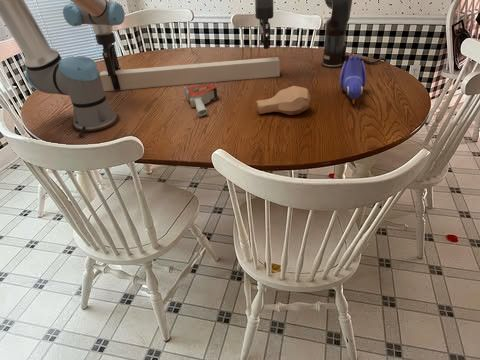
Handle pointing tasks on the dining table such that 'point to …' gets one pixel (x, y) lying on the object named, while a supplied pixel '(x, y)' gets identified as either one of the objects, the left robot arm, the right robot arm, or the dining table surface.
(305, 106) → the squash
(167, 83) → the post
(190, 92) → the tape dispenser
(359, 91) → the toy
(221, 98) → the dining table surface
